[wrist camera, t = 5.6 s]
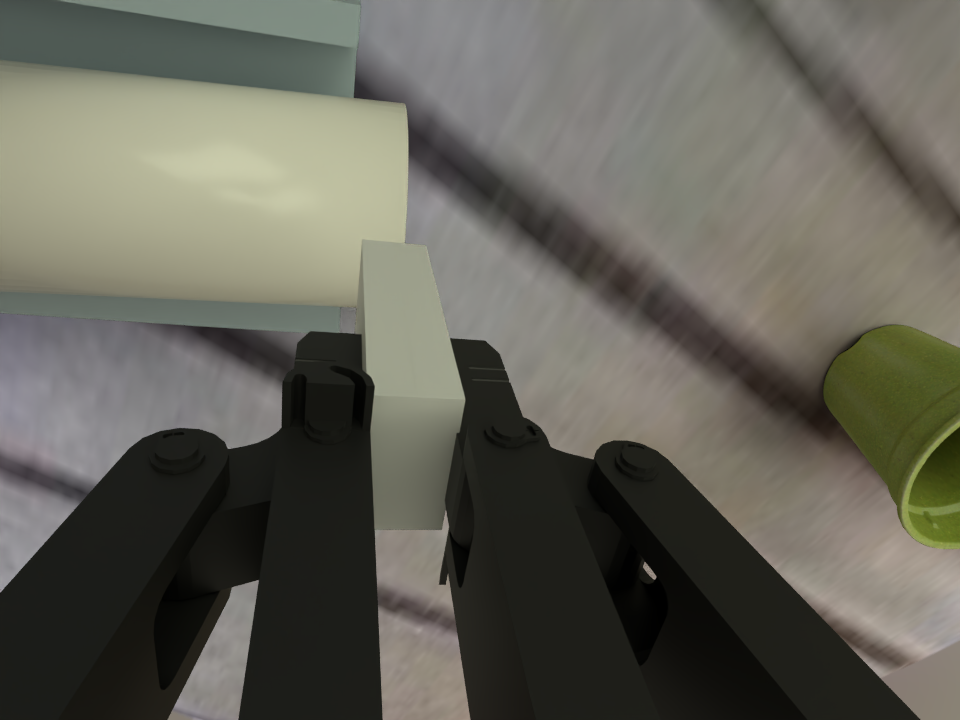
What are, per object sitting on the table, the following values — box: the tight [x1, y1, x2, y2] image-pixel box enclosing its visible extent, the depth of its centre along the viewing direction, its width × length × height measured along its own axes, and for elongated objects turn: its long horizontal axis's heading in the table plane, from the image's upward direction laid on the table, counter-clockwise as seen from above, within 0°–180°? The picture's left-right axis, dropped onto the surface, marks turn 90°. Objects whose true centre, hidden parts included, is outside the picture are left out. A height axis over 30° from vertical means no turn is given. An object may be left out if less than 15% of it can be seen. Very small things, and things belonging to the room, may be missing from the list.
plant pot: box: [823, 325, 960, 549], centre depth 33 cm, size 9×9×9 cm
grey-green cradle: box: [0, 0, 361, 333], centre depth 22 cm, size 20×11×4 cm, turn 80°
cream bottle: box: [0, 60, 408, 308], centre depth 21 cm, size 7×7×20 cm
